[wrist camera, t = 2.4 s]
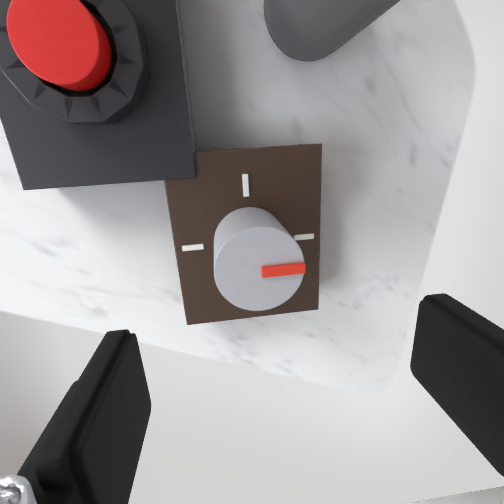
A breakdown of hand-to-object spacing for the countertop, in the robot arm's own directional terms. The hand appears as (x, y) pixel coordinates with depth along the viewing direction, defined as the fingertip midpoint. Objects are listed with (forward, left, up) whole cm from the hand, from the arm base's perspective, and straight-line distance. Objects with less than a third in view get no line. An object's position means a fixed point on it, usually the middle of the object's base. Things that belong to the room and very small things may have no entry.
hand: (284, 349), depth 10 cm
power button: (-11, -8, -10) cm, 17 cm away
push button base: (-11, -8, -14) cm, 20 cm away
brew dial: (0, 0, -11) cm, 11 cm away
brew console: (0, 0, -14) cm, 14 cm away
